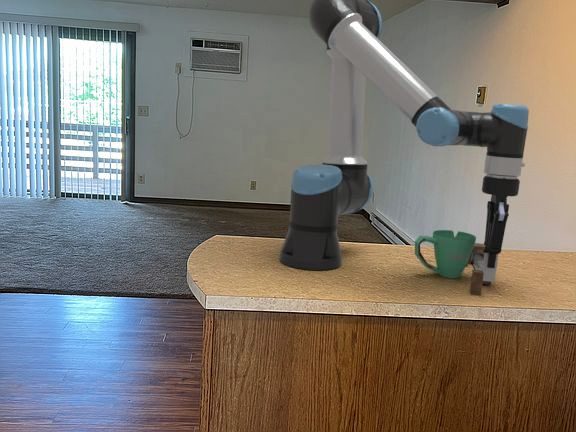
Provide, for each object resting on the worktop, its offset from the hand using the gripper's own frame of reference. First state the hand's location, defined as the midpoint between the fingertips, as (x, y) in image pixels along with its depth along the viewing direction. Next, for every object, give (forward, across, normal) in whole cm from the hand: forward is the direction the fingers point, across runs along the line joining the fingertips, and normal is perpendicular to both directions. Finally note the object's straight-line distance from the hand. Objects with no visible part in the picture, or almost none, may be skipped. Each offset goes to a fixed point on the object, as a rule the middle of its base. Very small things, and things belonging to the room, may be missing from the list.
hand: (487, 280), depth 127 cm
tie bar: (+1, +5, 0) cm, 5 cm away
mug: (+2, +5, +10) cm, 11 cm away
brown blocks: (+1, +4, 0) cm, 4 cm away
